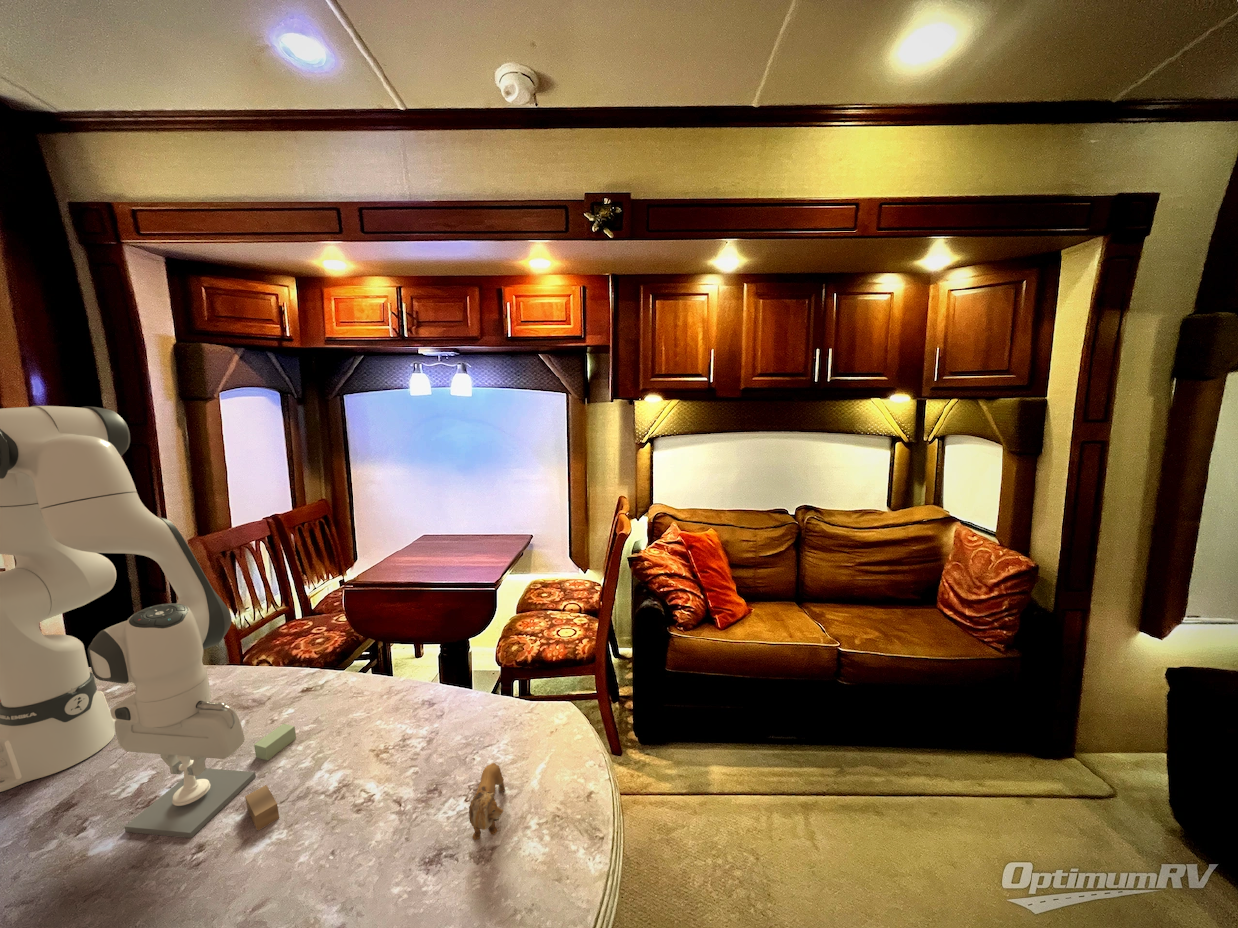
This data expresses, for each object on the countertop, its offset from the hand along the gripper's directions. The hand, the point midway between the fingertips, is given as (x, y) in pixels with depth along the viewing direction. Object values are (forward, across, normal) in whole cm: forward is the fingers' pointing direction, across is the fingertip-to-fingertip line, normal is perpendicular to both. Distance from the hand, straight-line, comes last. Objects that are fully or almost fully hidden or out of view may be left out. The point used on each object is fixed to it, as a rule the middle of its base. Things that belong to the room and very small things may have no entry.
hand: (188, 772), depth 81 cm
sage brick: (+6, -4, -13) cm, 15 cm away
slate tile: (+6, 0, 0) cm, 6 cm away
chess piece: (+4, 0, 0) cm, 4 cm away
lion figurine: (+6, -53, -2) cm, 54 cm away
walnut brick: (+6, -14, +1) cm, 16 cm away
